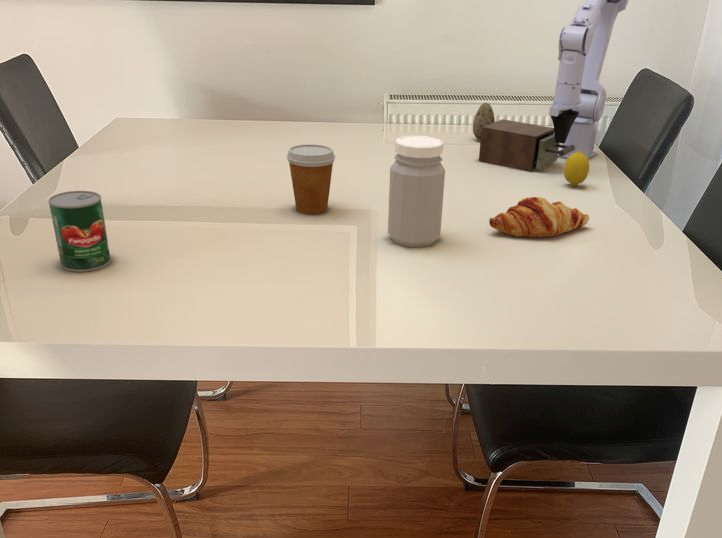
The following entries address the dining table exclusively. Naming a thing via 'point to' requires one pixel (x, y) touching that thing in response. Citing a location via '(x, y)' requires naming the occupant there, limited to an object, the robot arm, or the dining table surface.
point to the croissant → (538, 218)
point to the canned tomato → (80, 230)
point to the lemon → (576, 168)
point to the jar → (416, 191)
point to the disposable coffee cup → (311, 176)
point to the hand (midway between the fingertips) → (560, 142)
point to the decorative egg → (482, 119)
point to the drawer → (549, 151)
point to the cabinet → (511, 143)
